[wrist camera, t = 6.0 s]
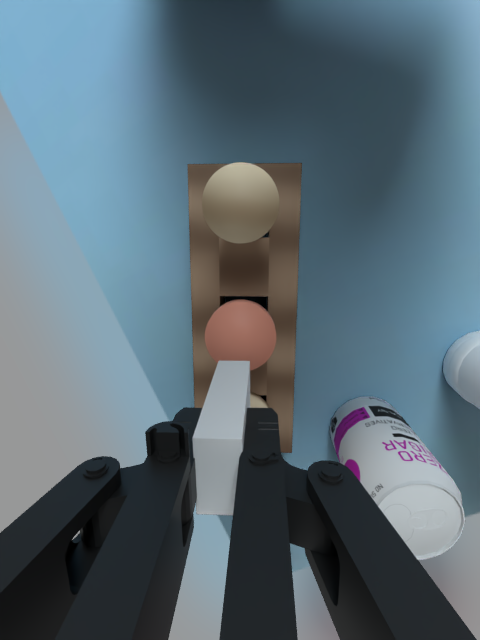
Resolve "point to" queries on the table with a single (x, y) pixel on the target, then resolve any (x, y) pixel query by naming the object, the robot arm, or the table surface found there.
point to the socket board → (249, 287)
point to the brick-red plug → (241, 333)
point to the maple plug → (240, 202)
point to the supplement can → (399, 475)
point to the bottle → (464, 367)
